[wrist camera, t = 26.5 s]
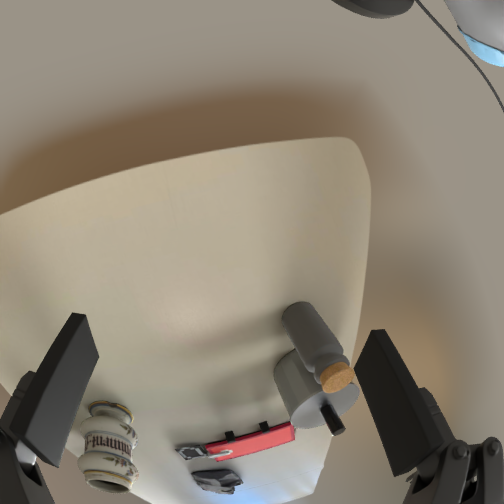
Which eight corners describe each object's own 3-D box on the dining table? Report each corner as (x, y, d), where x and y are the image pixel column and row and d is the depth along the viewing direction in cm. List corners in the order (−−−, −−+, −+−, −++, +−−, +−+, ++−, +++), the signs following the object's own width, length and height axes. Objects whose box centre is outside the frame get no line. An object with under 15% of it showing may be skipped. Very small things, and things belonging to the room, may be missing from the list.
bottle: (283, 334, 47) (319, 401, 33) (278, 308, 44) (318, 378, 31) (315, 322, 47) (357, 384, 34) (312, 296, 45) (360, 359, 32)
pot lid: (364, 370, 42) (384, 397, 36) (347, 411, 48) (362, 435, 42) (291, 392, 39) (307, 426, 33) (285, 431, 45) (297, 459, 39)
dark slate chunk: (237, 464, 67) (241, 476, 63) (243, 482, 77) (246, 492, 73) (188, 471, 64) (190, 483, 60) (202, 488, 74) (204, 499, 70)
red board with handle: (171, 443, 54) (190, 462, 61) (172, 452, 52) (192, 470, 59) (290, 413, 59) (293, 436, 66) (294, 422, 57) (296, 443, 64)
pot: (336, 337, 51) (363, 374, 41) (326, 377, 56) (347, 413, 47) (274, 352, 48) (295, 396, 39) (272, 392, 53) (289, 432, 44)
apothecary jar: (138, 402, 46) (140, 483, 30) (137, 430, 50) (141, 499, 34) (80, 392, 42) (69, 470, 26) (87, 422, 46) (81, 489, 30)
